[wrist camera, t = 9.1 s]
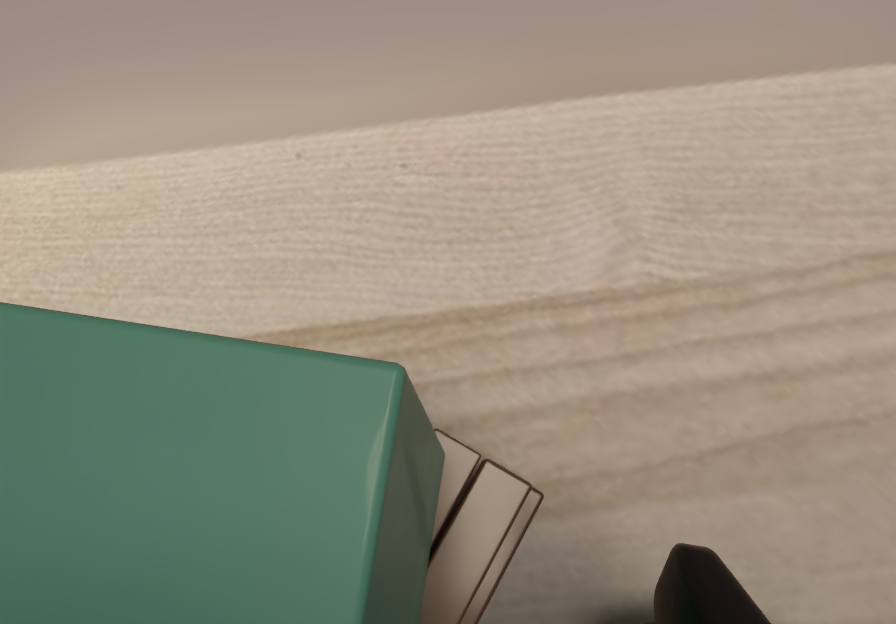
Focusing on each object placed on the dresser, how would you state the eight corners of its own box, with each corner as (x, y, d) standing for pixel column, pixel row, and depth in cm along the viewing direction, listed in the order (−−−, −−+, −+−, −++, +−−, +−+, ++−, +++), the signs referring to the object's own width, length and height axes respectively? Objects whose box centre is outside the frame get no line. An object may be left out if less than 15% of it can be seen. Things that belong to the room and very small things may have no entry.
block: (417, 630, 15) (213, 1481, 2) (287, 608, 15) (-572, 1293, 2) (445, 451, 16) (407, 362, 3) (322, 432, 16) (-169, 274, 3)
